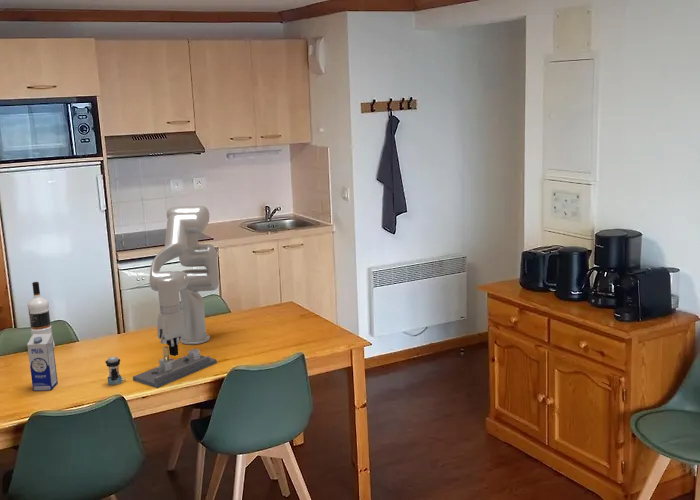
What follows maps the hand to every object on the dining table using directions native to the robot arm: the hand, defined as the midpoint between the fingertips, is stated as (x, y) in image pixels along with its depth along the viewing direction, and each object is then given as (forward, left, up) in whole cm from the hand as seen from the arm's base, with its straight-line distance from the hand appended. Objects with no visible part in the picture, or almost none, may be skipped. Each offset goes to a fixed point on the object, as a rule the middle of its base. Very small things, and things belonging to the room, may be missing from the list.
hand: (174, 354), depth 286 cm
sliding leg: (-2, -4, -6) cm, 8 cm away
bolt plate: (-3, +3, -8) cm, 9 cm away
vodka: (-73, -10, -8) cm, 74 cm away
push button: (-13, -17, -8) cm, 23 cm away
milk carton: (-33, -34, -8) cm, 48 cm away
